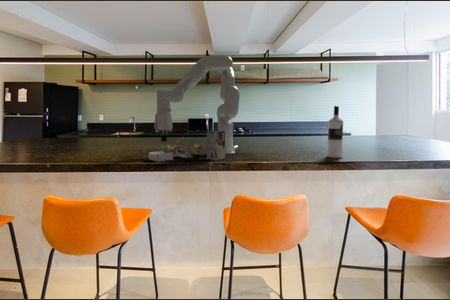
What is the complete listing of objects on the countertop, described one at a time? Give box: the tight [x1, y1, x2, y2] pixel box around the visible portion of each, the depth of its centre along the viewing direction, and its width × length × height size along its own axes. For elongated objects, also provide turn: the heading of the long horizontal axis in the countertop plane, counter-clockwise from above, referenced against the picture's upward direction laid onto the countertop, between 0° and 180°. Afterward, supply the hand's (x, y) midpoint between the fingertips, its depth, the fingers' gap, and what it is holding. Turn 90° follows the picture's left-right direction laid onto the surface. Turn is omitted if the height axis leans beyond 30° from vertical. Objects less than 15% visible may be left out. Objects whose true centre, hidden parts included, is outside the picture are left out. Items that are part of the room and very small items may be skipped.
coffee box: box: [206, 130, 226, 161], centre depth 175 cm, size 9×6×16 cm
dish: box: [148, 150, 174, 163], centre depth 174 cm, size 10×10×4 cm
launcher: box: [160, 144, 204, 154], centre depth 188 cm, size 21×14×4 cm
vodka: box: [325, 105, 344, 159], centre depth 179 cm, size 9×9×30 cm
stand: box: [164, 150, 203, 159], centre depth 187 cm, size 21×17×4 cm
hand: (163, 141), depth 185 cm, fingers closed
